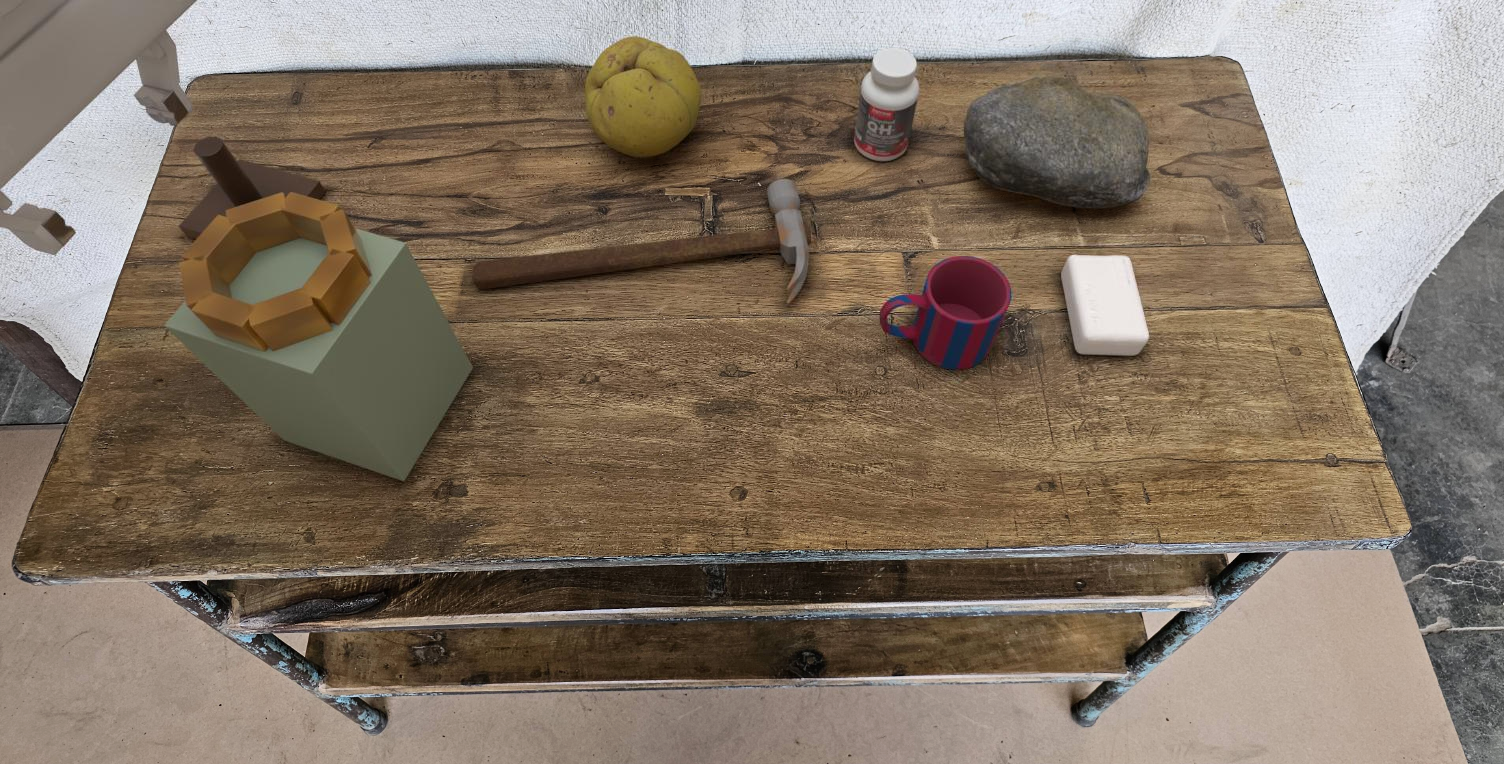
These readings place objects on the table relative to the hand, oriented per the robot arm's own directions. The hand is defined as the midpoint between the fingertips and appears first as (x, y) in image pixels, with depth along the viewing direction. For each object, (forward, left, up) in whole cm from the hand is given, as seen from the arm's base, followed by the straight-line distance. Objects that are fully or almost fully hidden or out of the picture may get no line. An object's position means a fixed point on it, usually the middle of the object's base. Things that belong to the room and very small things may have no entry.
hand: (118, 175), depth 44 cm
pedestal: (+3, -2, -28) cm, 28 cm away
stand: (+17, +20, -28) cm, 38 cm away
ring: (+3, -2, -12) cm, 12 cm away
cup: (+24, -43, -28) cm, 57 cm away
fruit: (+38, -11, -28) cm, 48 cm away
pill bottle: (+45, -33, -28) cm, 62 cm away
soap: (+31, -56, -28) cm, 70 cm away
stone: (+46, -49, -28) cm, 73 cm away
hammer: (+23, -17, -28) cm, 40 cm away
